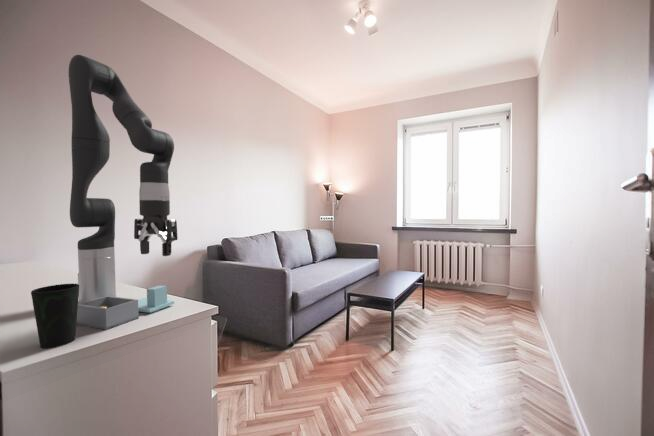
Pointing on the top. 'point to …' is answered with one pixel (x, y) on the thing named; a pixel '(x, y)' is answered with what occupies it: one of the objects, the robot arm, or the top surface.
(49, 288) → the cup
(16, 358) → the top surface
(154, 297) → the lid
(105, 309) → the tub
